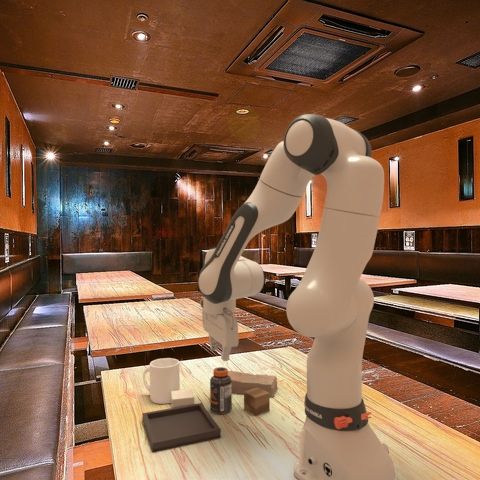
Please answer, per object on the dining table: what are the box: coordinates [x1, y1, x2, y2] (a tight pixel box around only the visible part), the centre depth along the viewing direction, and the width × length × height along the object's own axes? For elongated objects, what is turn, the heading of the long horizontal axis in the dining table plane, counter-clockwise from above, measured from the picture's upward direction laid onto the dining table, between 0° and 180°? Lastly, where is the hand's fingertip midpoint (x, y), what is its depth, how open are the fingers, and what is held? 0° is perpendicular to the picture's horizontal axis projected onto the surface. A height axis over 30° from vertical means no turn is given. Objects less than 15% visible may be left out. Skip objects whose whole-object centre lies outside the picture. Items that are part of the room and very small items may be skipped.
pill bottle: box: [209, 366, 233, 415], centre depth 107 cm, size 6×6×11 cm
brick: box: [228, 370, 278, 398], centre depth 121 cm, size 17×8×5 cm, turn 75°
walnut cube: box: [243, 388, 271, 417], centre depth 106 cm, size 5×5×5 cm
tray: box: [141, 402, 222, 453], centre depth 96 cm, size 16×16×2 cm
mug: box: [142, 357, 181, 405], centre depth 115 cm, size 9×12×11 cm
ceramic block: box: [170, 388, 196, 408], centre depth 108 cm, size 6×6×4 cm
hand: (219, 354), depth 107 cm, fingers open, 8 cm apart
